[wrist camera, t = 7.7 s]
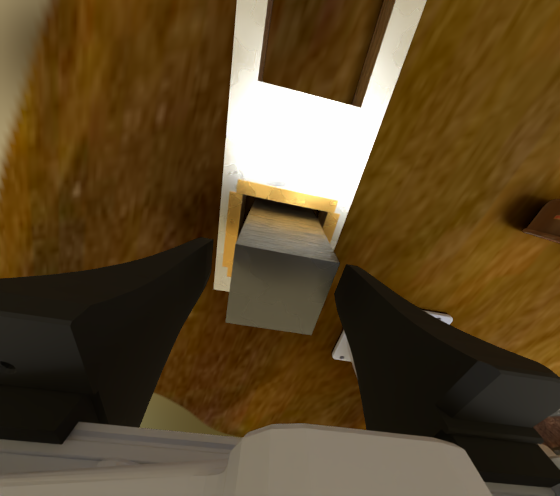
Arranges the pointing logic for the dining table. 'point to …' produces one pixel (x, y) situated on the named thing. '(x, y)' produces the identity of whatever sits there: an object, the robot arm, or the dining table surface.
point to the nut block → (280, 269)
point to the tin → (546, 222)
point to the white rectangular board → (302, 128)
